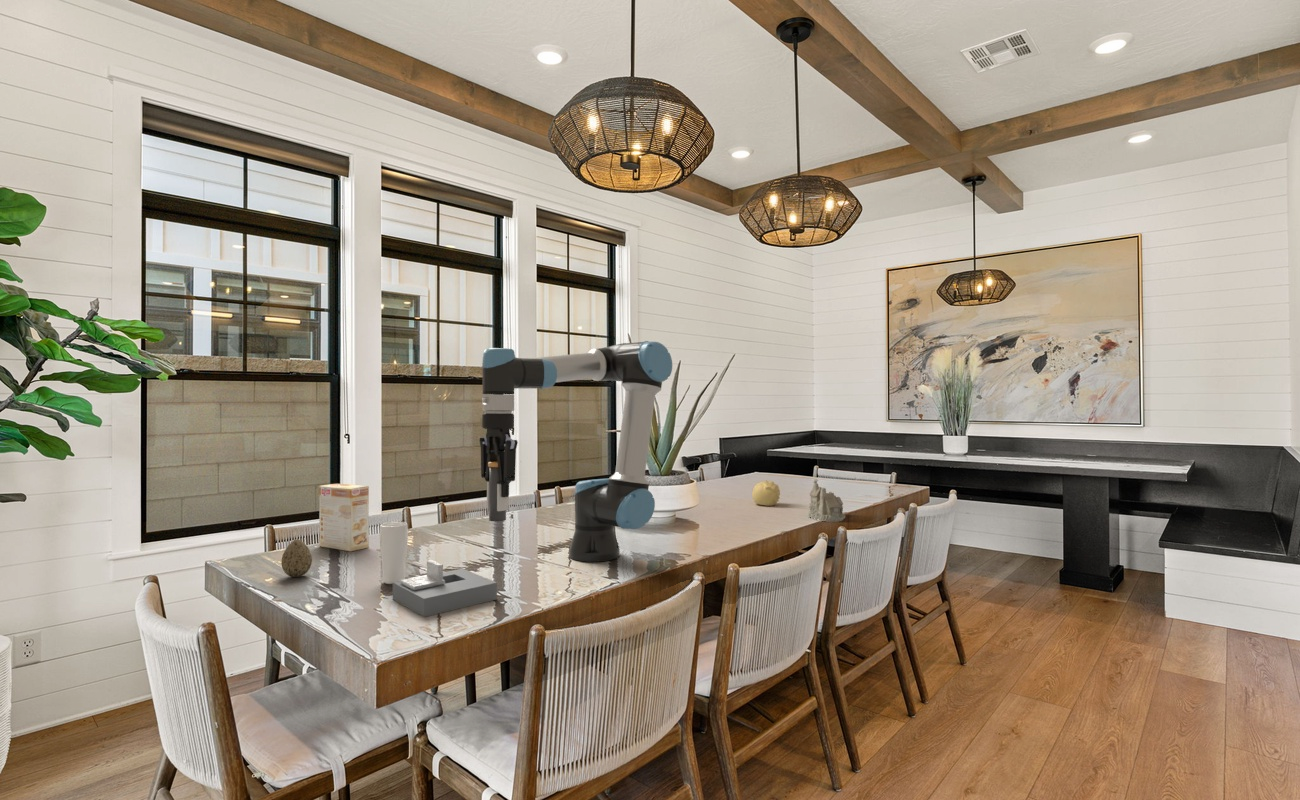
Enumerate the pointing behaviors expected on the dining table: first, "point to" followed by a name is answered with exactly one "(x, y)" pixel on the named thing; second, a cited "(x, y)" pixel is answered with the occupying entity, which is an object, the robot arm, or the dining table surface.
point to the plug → (494, 494)
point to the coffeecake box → (344, 516)
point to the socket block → (447, 593)
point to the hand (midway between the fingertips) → (497, 509)
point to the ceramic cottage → (825, 505)
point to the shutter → (426, 577)
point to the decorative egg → (296, 559)
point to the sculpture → (766, 493)
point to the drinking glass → (393, 550)
